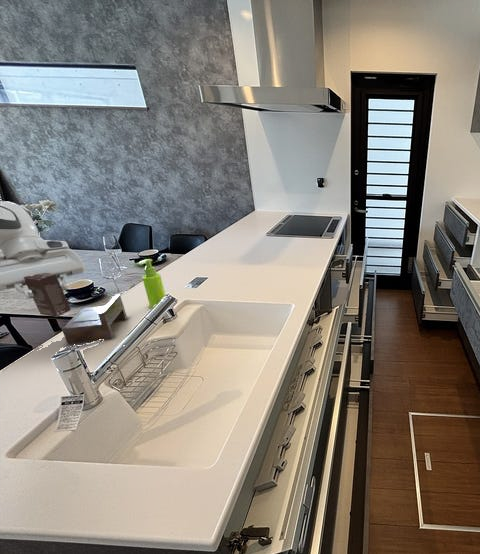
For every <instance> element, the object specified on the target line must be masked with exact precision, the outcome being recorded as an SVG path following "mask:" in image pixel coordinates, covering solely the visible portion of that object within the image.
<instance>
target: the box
mask: <svg viewBox="0 0 480 554" xmlns="http://www.w3.org/2000/svg"><path fill="white" fill-rule="evenodd" d="M24 279H25V282H26V284H27V285H26V286H27V289H28V290H32V292H33V294H34V298H32V299H33V301H34V304H35V306H36V308H37V310H38V312H39V315H43V316H47V317H54V318H57V317H60V316H62V315H65V314H66V313H68V312H70V311H71V307H70V304H69V302H68V300H67V297H66V295H65V293H64V290H62V288H61V285H60V283H61V282H60V281H59V278H57V276H56V274H50V273H40V274H35V275H31V276H26V277H24Z"/></svg>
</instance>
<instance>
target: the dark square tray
mask: <svg viewBox="0 0 480 554" xmlns="http://www.w3.org/2000/svg"><path fill="white" fill-rule="evenodd" d="M127 319H128V316H127V312H126V309H125V305H124V303H123V300H122V297H121V294H115V295H113V297H112V298H110V300H109V301H108V303H106V304H105V305H100V306H90V307H82V308H81V310H79V311H78V312H77V313H76V314H75V315H74V316H73V317H72V318H71V319H70V320H69V321H68V322H66V324H65V325H64V326H63V327H62V328H61V331H62V333H63V336H64V339H65V341H66V343H67V345H73V344H80V343H81V344H82V343H90V342H97V341H96V340H99V339H104V340H103V341H105V340H106V341H107V340H113V339H114V332H113V330H112V326H111V325H112V324H113V322H120V321H126V320H127ZM99 341H100V340H99Z"/></svg>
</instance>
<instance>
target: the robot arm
mask: <svg viewBox="0 0 480 554" xmlns="http://www.w3.org/2000/svg"><path fill="white" fill-rule="evenodd" d="M0 250H1V252H2V254H3V256H0V292H1V291H6V290H10V289H15V290H16V292H18V293H20V294H23V295H24V296H25V298H26V300H29V299H33V298H34V294H33V292H32V290H29V289H28V290H27V289H26V288H24V287H25V286H27V284H26V282H25V279H24V277H26V276H31V275H35V274H40V273H50V274H56V276H57V278H58V279H60V281H61V282H59V283H60V285H61V288H62V290H63V291H67V290H68V286H67V283H68V282H67V281H68V277H70V276H71V277H72V276H75V275H80V274H83V273H84V272H85V270H86V265H85V263H84V261H83V260H82V258H81V256H79V255H78V253H77V252H76V251H75V250H73V248H70V246H69V243H68V242H67V241H65V240H51V239H43V238H42V236H40V235H39V228H38V227H37V225H36V223H35V222H34V220H33V218H32V217H31V216H30V215H29V213H28V211H26V209H24V208H23V207H22V206H21V205H19V204H17V203H15V202H12V201H5V200H0Z"/></svg>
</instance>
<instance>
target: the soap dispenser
mask: <svg viewBox="0 0 480 554" xmlns="http://www.w3.org/2000/svg"><path fill="white" fill-rule="evenodd" d="M153 261H154V260H153V259H152V258H145V259H142V260H140V261H138V262H136V265H137V266H143V265H145V267H143V270H144V275H143V276H142V277H141V279H142V282H143V285H144V289H145V293H146V296H147V300H148V304H149V308H151V309H153V306H154V305H155V304H157V303H158V302H159V301H160V300H161V299H162V298H163V297H164V296H166V292H165V289H164V285H163V280H162V276H161V274H160V273H157V271H156V268H155V266H154V265H152V262H153Z"/></svg>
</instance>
